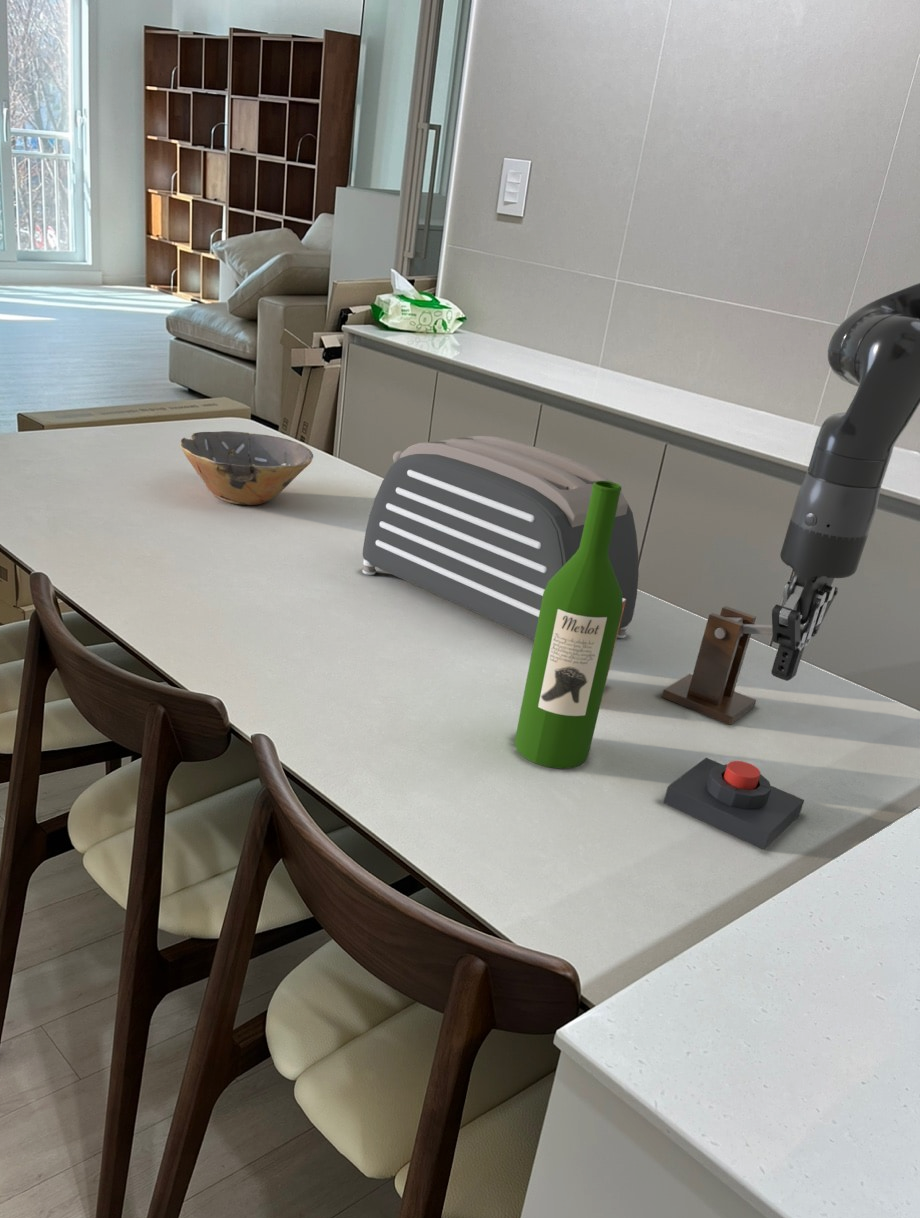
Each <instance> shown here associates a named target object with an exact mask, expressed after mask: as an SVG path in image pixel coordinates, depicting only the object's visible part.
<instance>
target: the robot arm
mask: <svg viewBox="0 0 920 1218" xmlns="http://www.w3.org/2000/svg"><path fill="white" fill-rule="evenodd" d="M827 361H828V364H829V367H830V369H831V371H832V372H833V373H834V374H835V376H837V377H838V378H839V379H840V380H842V381H843V382H846V383H848V384H850V385H853V386H855V387H857V391H856V393H855V394H854V397H853V398H852V401H851V402H850V404H849V406H848V408H847V410H846V411H845V412H837V413H834V414H831V415H829V416H827V417H826V419H824V421H823V422H822V424H821V426H820V429H819V431H818V433H817V436H816V440H815V443H814V446H813V450H812V453H811V457H810V460H809V464H808V466H807V467H808V469H807V471H806V474H805V476H804V479H803V481H802V483H801V485H800V488H799V490H798V492H797V496H796V499H795V501H794V506H793V509H792V513H791V515H790V519H789V522H788V526H787V529H786V533H785V536H784V540H783V543H782V546H781V550H780V553H779V554H780V555H779V556H780V559H781V561H782V562H783V564H784V565H786V566H789V567H790V569H792V571H793V574H794V575H792V578H791V579H790V580H788V581H786V583H785V586H784V588H783V593H782V598H783V601H782V605H780V604H778V603H777V604H775V605H774V607H772V610H771V625H772V633H773V635H772V643H775V644H778V648H777V651H776V655H775V658H774V660H773V664H772V667H771V668H772V669H771V670H770V671H771V673H770V674H771V675H772V677H774V678H778V679H781V680H783V681H786V682H788V681H790V680H792V679H793V678H794V677H795V676H796V675H797V672H798V670H799V667H800V663H801V660H802V658H803V657H802V656H803V654H804V650H805V647H807V646H809V644H810V642H811V638H814V637H816V635H818V632H819V630H820V628H821V625H822V623H823V621H824V619H825V617H826V615H827V613H828V611H829V609H830V607H831V605H832V603H833V601H834V600H835V597H836V596H837V595H838V593H839V592H838V590H839V588H838V587H837V586H833V583H834V581H835V579H844V578H849V577H851V576H853V575H854V574H855V573H857V570H858V567H859V564H860V561H861V558H862V555H863V553H864V549H865V546H866V542H867V540H868V537H869V534H870V531H871V527H872V525H873V522H874V519H875V515H876V512H877V509H878V505H879V500H880V493H881V489H882V486H883V482H884V479H885V476H886V473H887V470H888V467H889V464H890V461H891V458H892V455H893V451H894V447H895V444H896V442H897V441H898V439H899V438H900V436H901V435H902V434H903V432H904V431H905V429H906V428H907V426H908V425H909V423H910V421H911V419H912V418H913V416H914V415H915V413H916V411H917V410H918V408H919V407H920V282H918V283H915V284H911V285H910V286H906V287H904V288H903V289H899V290H897V291H895V292H892V293H889V294H886V295H885V296H882V297H879V298H877V299H875V300H873V301H870V302H869V303H867V304H865V305H863V306H861V307H860V308H858V309H857V310H855V311H853V312H852V313H851V314H850V315H849V316H847V317H846V318H845V319H844V320H843V321H842V322H841V323H840V324H839V326H838V327H837V328H836V330H835V331H834V333H833V334H832V337H831V338H830V341H829V344H828V347H827ZM819 627H820V628H819ZM818 629H819V630H818Z"/></svg>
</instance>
